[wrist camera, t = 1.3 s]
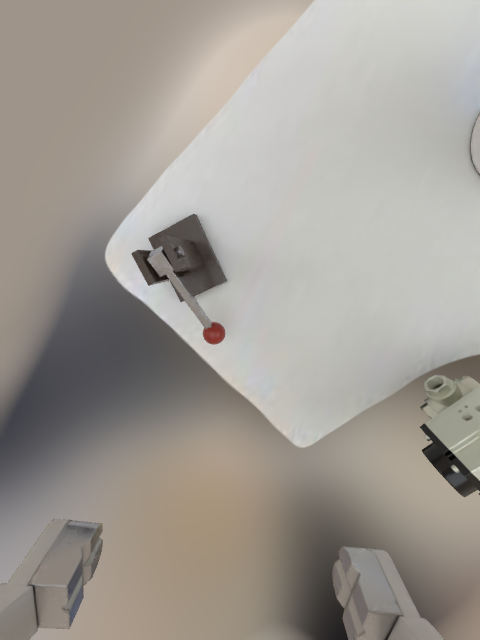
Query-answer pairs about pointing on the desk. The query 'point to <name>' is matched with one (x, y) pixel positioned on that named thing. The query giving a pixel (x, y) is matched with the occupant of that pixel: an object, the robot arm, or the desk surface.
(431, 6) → the desk surface
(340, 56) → the desk surface
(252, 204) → the desk surface
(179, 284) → the tap lever
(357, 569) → the robot arm
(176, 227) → the block
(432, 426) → the ball valve
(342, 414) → the desk surface
